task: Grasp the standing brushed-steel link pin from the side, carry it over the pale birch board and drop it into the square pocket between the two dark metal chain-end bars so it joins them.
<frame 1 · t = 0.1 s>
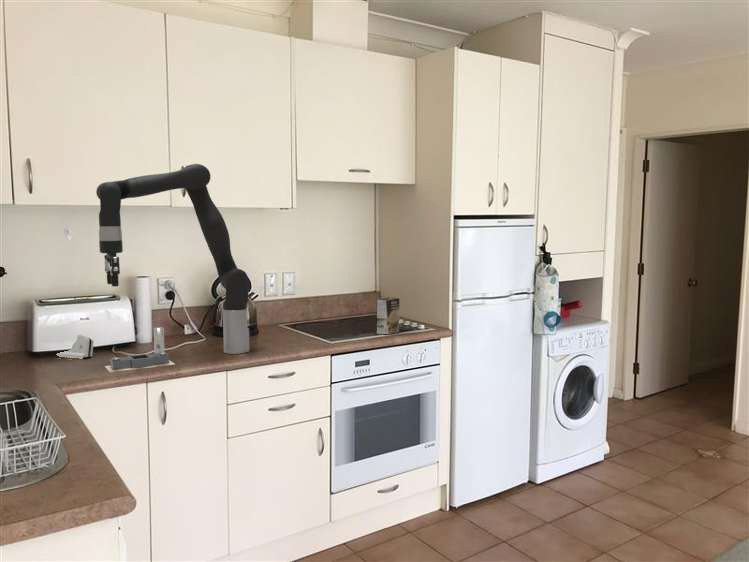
hand: (112, 285, 227), 29 cm above the table, tool pointing down, fingers open, 8 cm apart
link pin: (159, 359, 240), on the table
board: (140, 367, 228), on the table
coffee box: (388, 333, 296), on the table
chain ends: (140, 365, 228), resting on board
hinge: (72, 357, 244), on the table
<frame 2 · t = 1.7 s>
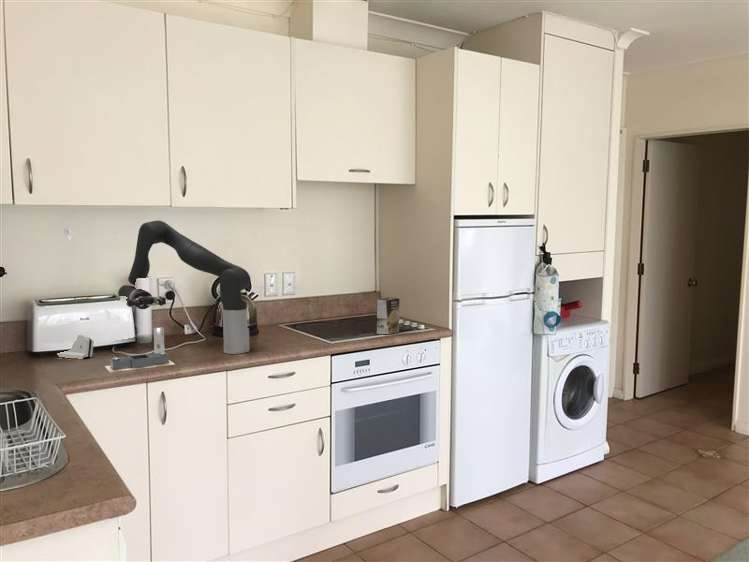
hand: (150, 303, 248), 20 cm above the table, tool horizontal, fingers open, 8 cm apart
nothing on the table moved.
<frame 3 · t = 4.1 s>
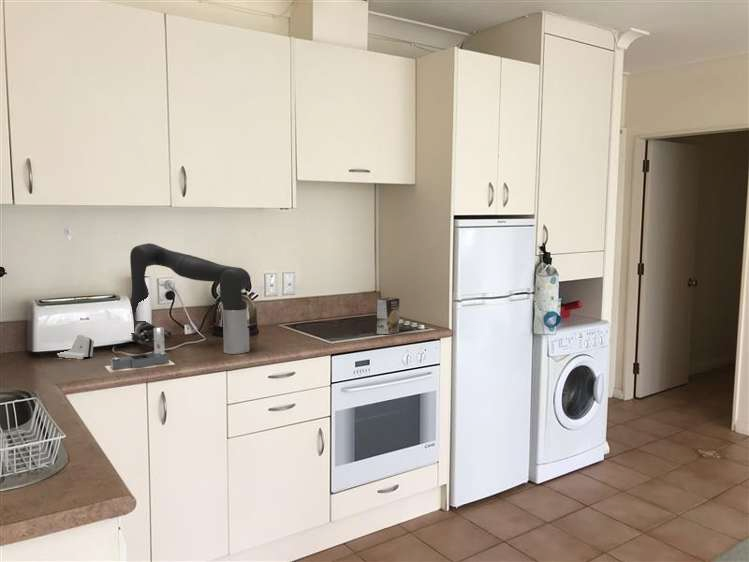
hand: (155, 338, 244), 7 cm above the table, tool horizontal, fingers open, 8 cm apart
nothing on the table moved.
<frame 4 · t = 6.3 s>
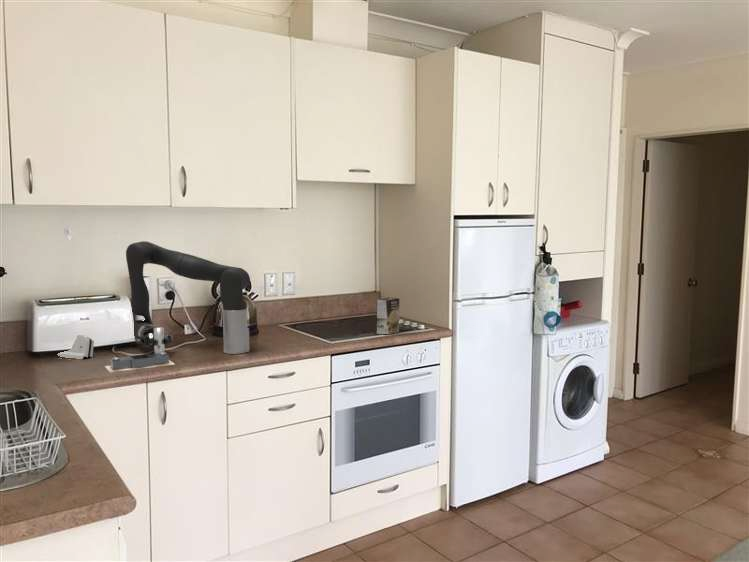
hand: (161, 342, 237), 7 cm above the table, tool horizontal, fingers closed on link pin, 3 cm apart
link pin: (159, 359, 240), on the table, touching gripper
everything else where it was.
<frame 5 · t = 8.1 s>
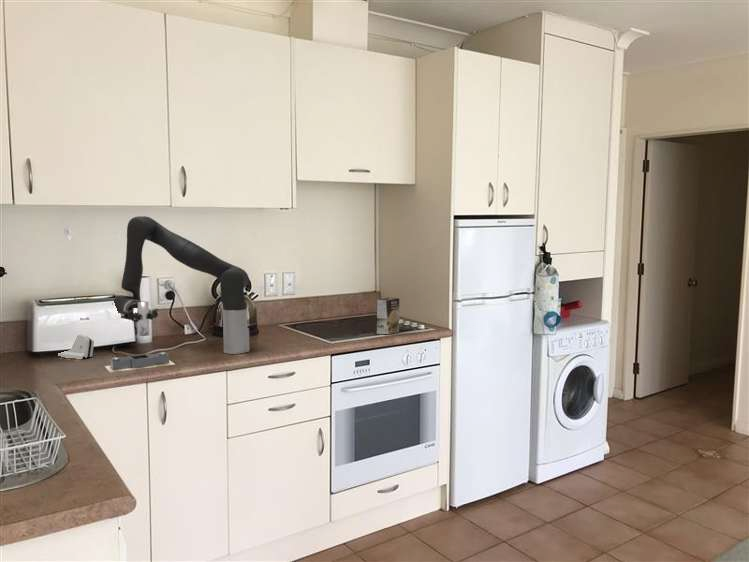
hand: (145, 317, 228), 18 cm above the table, tool horizontal, fingers closed on link pin, 3 cm apart
link pin: (144, 335, 231), point 11 cm above the table, touching gripper
everything else where it was.
when the fingers open (11 cm above the table, at t = 10.3 s): link pin drops 3 cm, resting on board.
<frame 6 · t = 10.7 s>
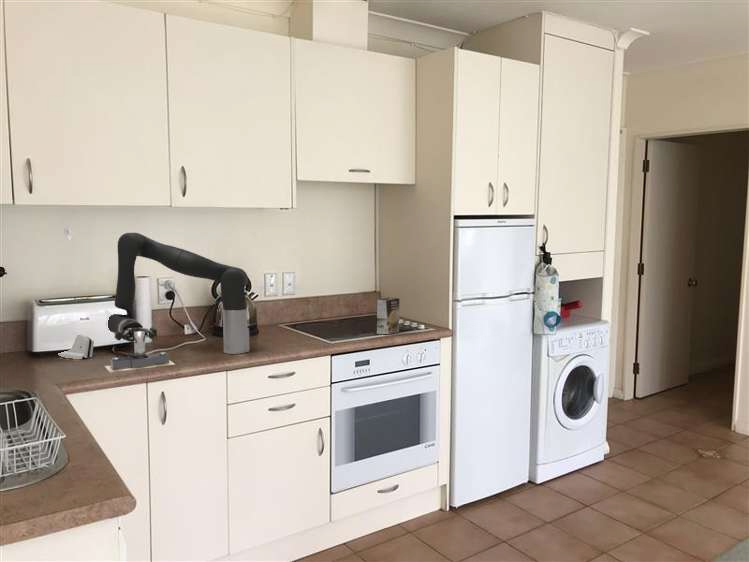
hand: (140, 337, 225), 11 cm above the table, tool horizontal, fingers open, 7 cm apart
link pin: (140, 364, 228), point 1 cm above the table, touching board
everything else where it was.
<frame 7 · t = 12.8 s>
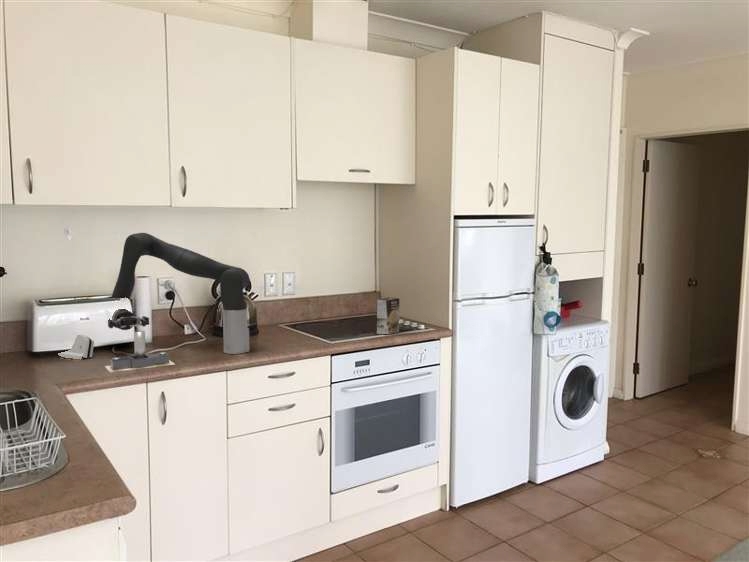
hand: (132, 324, 236), 14 cm above the table, tool horizontal, fingers open, 8 cm apart
nothing on the table moved.
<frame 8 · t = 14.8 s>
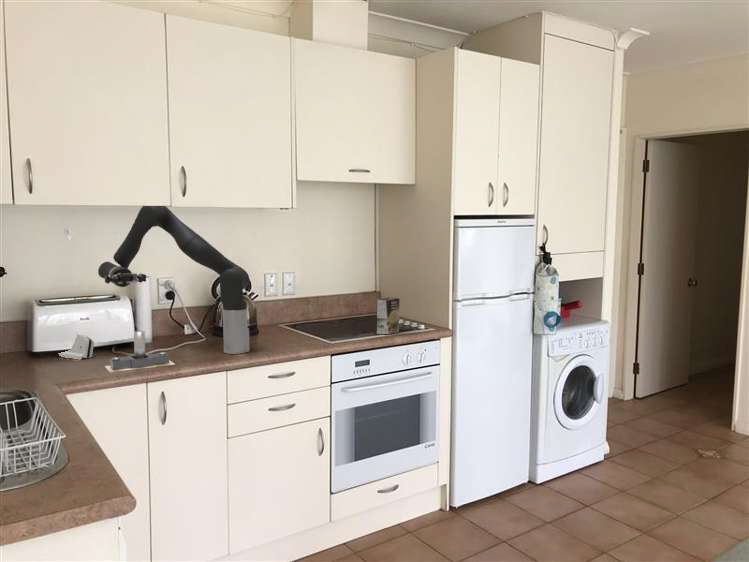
hand: (129, 280, 236), 30 cm above the table, tool horizontal, fingers open, 8 cm apart
nothing on the table moved.
at the end: link pin 0.1 cm off-centre on the chain ends, point 0.0 cm above the chain ends's base; link pin tilted 0°; the gripper is holding nothing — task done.
